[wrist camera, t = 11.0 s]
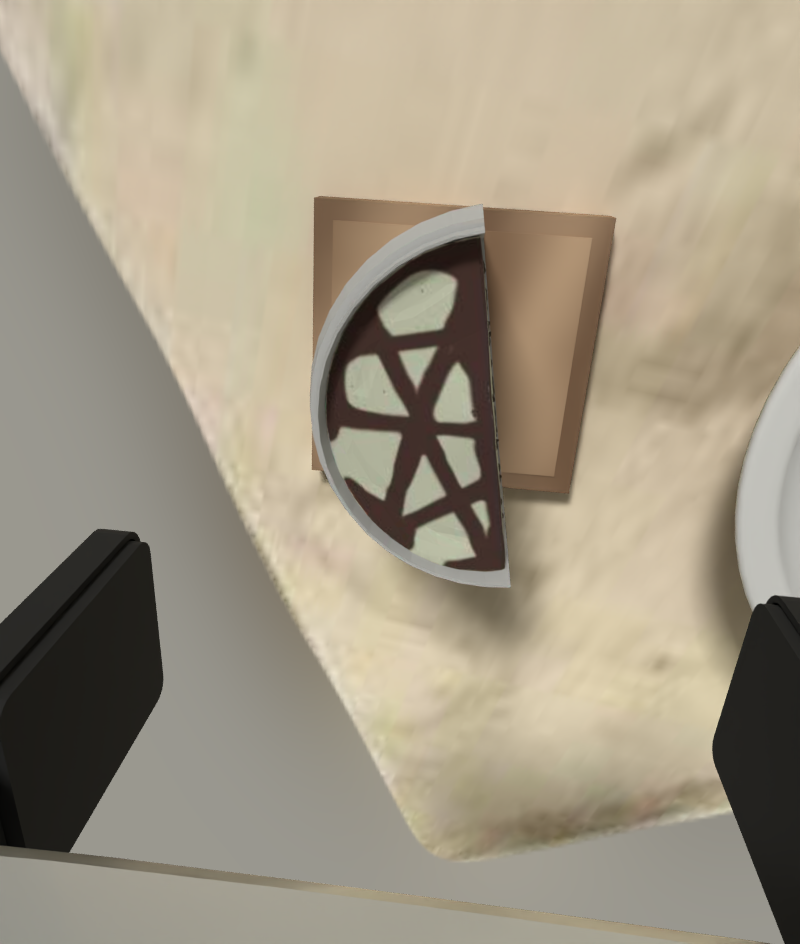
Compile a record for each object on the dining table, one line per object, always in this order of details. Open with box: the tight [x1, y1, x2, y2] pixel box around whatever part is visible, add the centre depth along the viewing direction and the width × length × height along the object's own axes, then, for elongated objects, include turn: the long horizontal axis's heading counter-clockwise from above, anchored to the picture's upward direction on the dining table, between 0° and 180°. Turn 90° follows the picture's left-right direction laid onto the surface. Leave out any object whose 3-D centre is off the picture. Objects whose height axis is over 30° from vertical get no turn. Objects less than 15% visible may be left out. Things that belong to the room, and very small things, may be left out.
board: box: [312, 196, 616, 493], centre depth 31 cm, size 12×12×1 cm
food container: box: [310, 204, 511, 588], centre depth 26 cm, size 12×6×10 cm, turn 7°
